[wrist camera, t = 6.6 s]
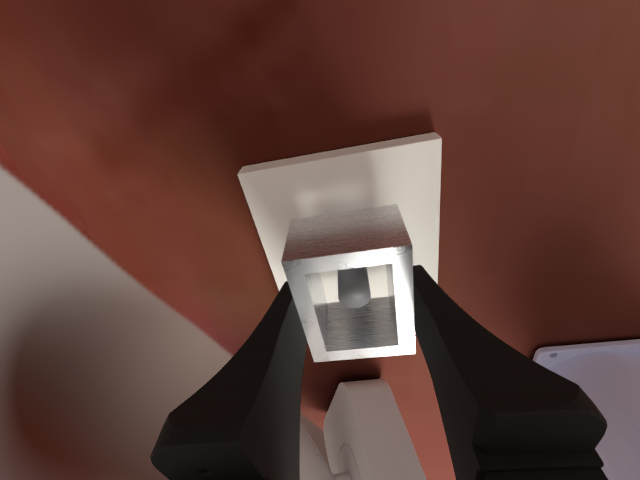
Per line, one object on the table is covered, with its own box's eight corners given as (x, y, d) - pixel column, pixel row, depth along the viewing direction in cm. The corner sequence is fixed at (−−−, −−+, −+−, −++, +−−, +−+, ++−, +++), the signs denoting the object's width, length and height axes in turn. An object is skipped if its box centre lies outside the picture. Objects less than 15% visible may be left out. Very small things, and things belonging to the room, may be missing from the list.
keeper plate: (435, 131, 14) (474, 168, 10) (432, 294, 19) (456, 358, 15) (242, 166, 15) (212, 211, 11) (291, 310, 20) (282, 372, 16)
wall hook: (247, 359, 22) (251, 547, 14) (375, 350, 25) (437, 503, 17) (242, 413, 27) (242, 579, 19) (351, 400, 30) (391, 540, 22)
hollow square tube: (290, 219, 13) (281, 261, 11) (397, 203, 13) (412, 244, 10) (317, 313, 17) (314, 362, 14) (402, 304, 16) (415, 353, 14)
